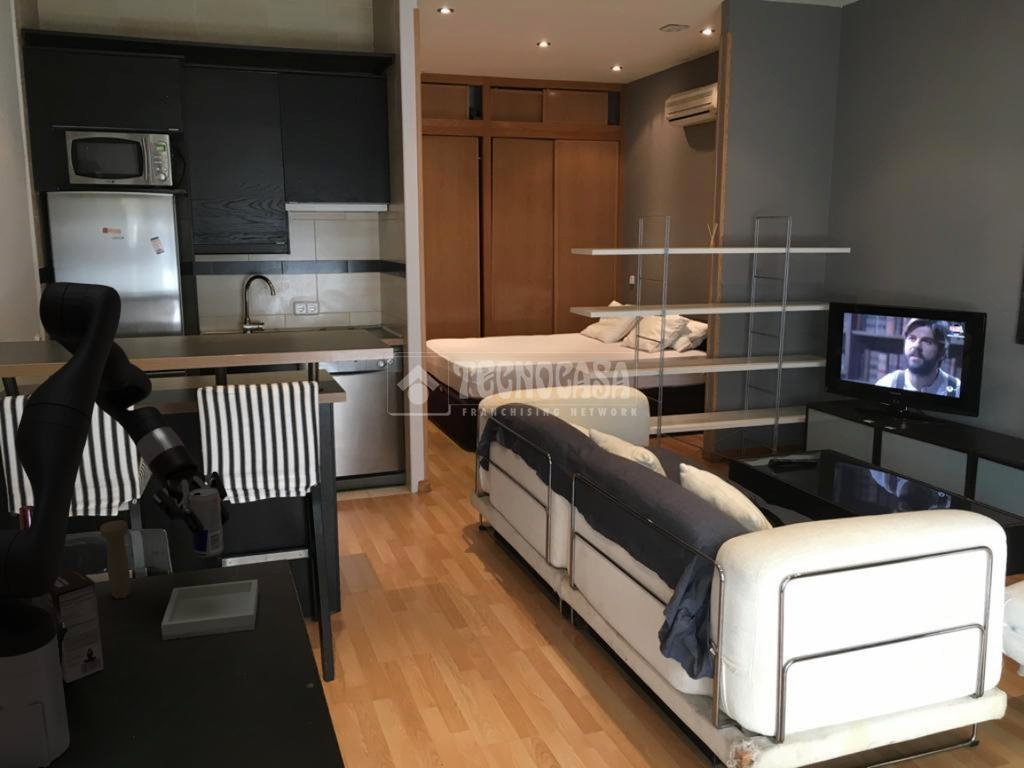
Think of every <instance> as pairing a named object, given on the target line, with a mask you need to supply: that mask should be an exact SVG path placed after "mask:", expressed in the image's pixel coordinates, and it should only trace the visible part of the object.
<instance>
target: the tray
mask: <svg viewBox="0 0 1024 768" xmlns="http://www.w3.org/2000/svg"><path fill="white" fill-rule="evenodd" d="M258 584H259V583H258V579H257V578H256V579H248V580H239V581H230V582H221V583H220V582H219V583H212V584H210V583H209V584H203V585H201V584H200V585H192V586H185V587H184V586H183V587H173V589H172V592H171V594H170V598H169V600H168V605H167V606H166V609H165V613H164V617H163V618H162V621H161V625H160V626H161V638H162V641H169V639H171V640H177V638H180V639H188V638H195V637H194V636H196V637H203V636H212V635H218V634H219V635H220V634H228V633H236V632H244V631H252V630H255V628H256V619H257V609H258V601H259V598H258V597H259V585H258ZM187 637H188V638H187Z"/></svg>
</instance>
